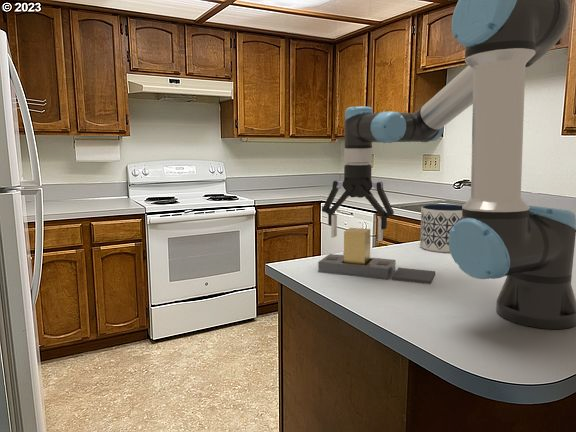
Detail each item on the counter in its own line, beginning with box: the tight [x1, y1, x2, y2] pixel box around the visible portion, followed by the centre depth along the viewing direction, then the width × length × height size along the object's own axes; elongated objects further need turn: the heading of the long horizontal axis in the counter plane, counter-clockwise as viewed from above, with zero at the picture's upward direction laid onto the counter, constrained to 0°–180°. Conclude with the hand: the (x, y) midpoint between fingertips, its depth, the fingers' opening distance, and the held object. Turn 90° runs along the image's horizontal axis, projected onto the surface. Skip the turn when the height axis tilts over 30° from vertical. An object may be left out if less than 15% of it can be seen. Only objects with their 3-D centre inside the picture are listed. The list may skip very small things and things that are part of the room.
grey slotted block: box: [317, 253, 397, 280], centre depth 129 cm, size 20×10×3 cm, turn 65°
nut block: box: [343, 227, 371, 265], centre depth 129 cm, size 6×6×12 cm
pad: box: [391, 267, 436, 285], centre depth 123 cm, size 10×10×1 cm
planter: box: [419, 203, 463, 254], centre depth 155 cm, size 16×16×14 cm
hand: (356, 238), depth 128 cm, fingers open, 13 cm apart
